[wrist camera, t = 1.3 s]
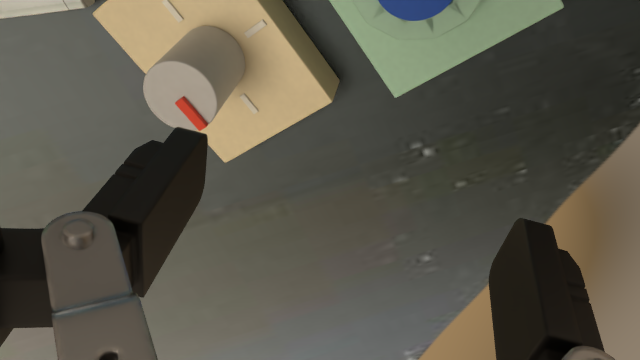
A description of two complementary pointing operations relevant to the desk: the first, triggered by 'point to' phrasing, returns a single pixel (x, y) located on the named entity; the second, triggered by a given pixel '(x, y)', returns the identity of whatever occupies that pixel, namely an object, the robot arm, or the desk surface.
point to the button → (414, 8)
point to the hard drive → (39, 6)
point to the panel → (259, 52)
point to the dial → (194, 78)
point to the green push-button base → (435, 35)
